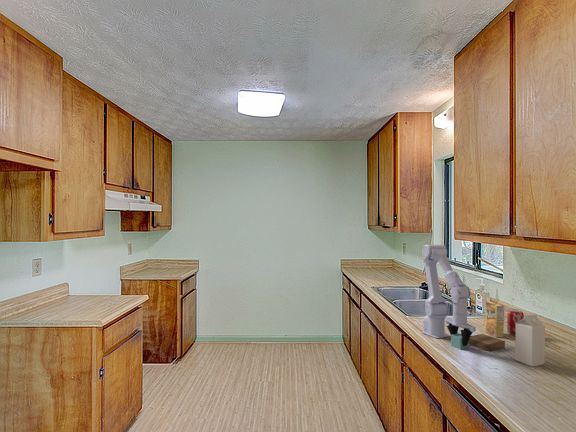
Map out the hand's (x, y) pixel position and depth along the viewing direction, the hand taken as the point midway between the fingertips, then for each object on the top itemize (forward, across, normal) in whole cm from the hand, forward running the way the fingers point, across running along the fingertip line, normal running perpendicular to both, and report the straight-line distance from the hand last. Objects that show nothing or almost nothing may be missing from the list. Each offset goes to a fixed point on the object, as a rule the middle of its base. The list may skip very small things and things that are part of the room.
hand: (459, 343), depth 166 cm
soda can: (+2, -2, +41) cm, 41 cm away
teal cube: (+1, 0, 0) cm, 1 cm away
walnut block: (+2, +4, +12) cm, 13 cm away
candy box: (+2, -6, +31) cm, 32 cm away
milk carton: (+2, +24, +11) cm, 26 cm away
